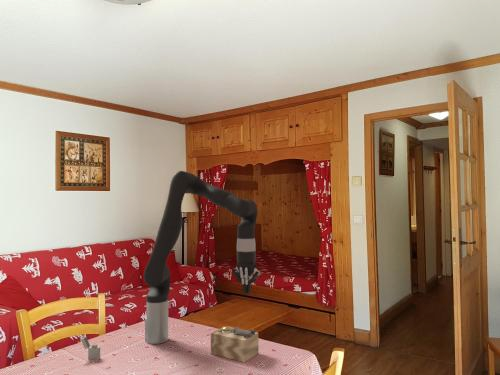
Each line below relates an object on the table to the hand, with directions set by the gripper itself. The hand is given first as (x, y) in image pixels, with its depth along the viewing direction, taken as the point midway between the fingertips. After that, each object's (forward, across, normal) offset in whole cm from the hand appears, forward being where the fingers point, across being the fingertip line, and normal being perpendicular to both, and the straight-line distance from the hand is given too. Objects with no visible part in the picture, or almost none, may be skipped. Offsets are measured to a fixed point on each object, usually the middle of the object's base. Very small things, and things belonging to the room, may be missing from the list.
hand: (246, 293), depth 150 cm
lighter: (+24, +49, +35) cm, 65 cm away
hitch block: (+24, +4, +2) cm, 24 cm away
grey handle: (+15, +1, +2) cm, 15 cm away
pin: (+24, +8, +2) cm, 25 cm away
